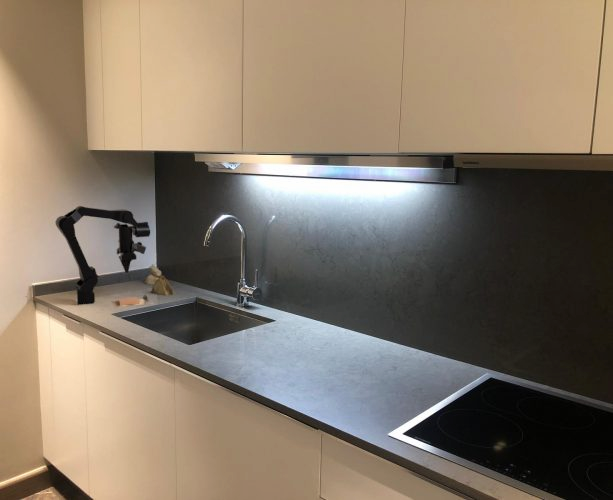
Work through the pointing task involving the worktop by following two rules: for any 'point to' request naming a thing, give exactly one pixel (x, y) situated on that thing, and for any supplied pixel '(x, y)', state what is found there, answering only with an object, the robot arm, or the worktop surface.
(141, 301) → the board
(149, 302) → the turner
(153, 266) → the beige lumpy chunk
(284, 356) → the worktop surface
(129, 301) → the picture frame
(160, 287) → the rock
